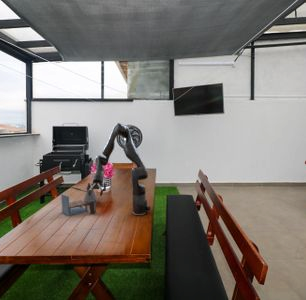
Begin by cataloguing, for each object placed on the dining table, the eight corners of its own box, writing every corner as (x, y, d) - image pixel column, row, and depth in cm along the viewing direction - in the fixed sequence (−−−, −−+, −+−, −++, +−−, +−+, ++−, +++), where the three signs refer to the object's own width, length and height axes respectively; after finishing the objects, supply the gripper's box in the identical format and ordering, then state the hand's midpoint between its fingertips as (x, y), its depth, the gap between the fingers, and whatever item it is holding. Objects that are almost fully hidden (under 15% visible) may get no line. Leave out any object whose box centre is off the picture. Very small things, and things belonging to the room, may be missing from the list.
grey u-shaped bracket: (81, 207, 199) (80, 190, 198) (87, 211, 191) (86, 192, 190) (62, 212, 190) (61, 193, 188) (68, 215, 181) (67, 196, 180)
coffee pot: (96, 200, 219) (95, 182, 217) (99, 203, 208) (98, 185, 207) (70, 203, 211) (69, 185, 209) (72, 207, 200) (71, 188, 199)
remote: (91, 211, 189) (91, 199, 188) (96, 211, 189) (95, 199, 188) (90, 213, 184) (89, 201, 184) (94, 213, 184) (93, 201, 183)
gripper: (108, 179, 204) (105, 198, 194) (90, 180, 206) (87, 198, 195) (106, 174, 199) (103, 193, 188) (88, 174, 200) (84, 193, 190)
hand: (95, 195), depth 192 cm, fingers open, 8 cm apart
